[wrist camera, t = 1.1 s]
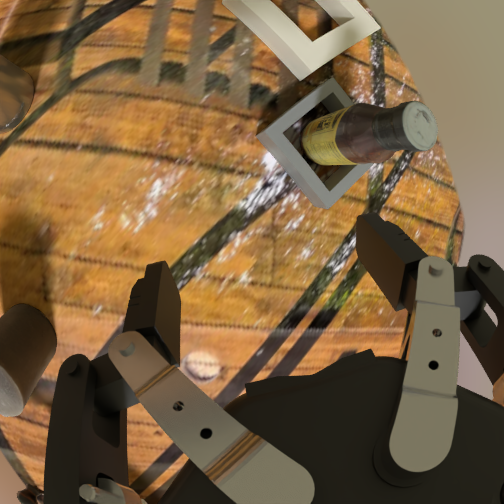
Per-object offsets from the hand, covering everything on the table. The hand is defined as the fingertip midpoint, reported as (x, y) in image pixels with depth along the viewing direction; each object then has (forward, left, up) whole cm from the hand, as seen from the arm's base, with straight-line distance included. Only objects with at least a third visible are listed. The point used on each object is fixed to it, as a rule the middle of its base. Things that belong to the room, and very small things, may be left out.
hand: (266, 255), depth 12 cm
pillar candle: (-7, -32, -25) cm, 41 cm away
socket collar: (-13, +28, -25) cm, 40 cm away
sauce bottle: (+3, +16, -25) cm, 30 cm away
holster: (+3, +16, -25) cm, 30 cm away
